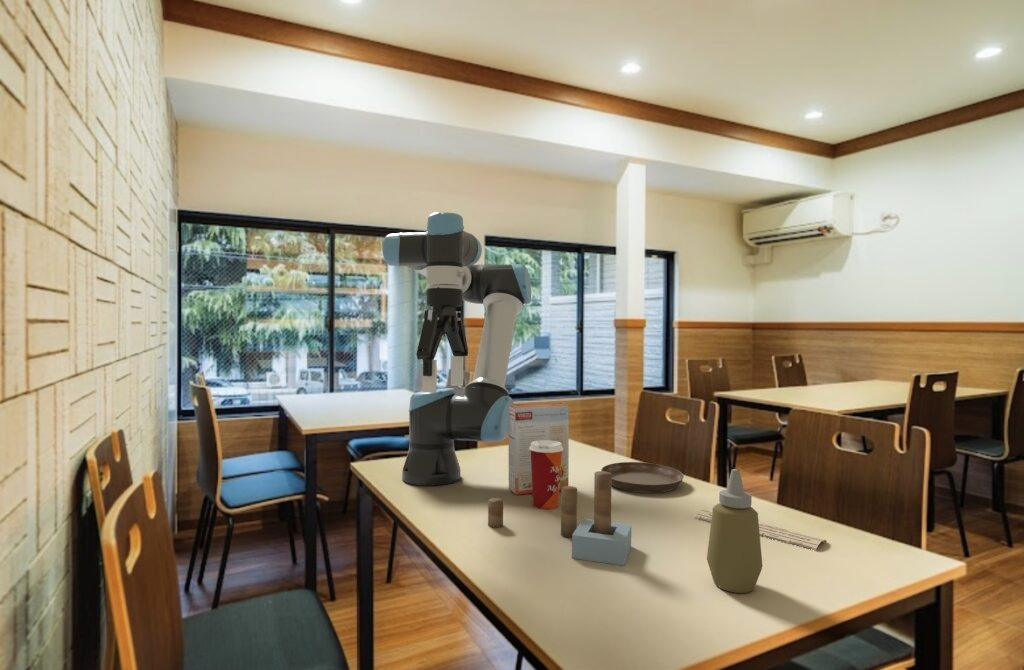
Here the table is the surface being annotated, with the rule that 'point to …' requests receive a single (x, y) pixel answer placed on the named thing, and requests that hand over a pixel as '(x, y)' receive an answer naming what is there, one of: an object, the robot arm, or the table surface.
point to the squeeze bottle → (734, 539)
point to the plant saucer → (643, 477)
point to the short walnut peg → (495, 513)
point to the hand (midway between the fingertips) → (444, 389)
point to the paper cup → (546, 473)
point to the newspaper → (775, 533)
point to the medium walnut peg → (568, 511)
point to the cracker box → (530, 427)
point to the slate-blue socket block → (601, 543)
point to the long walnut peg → (602, 502)
